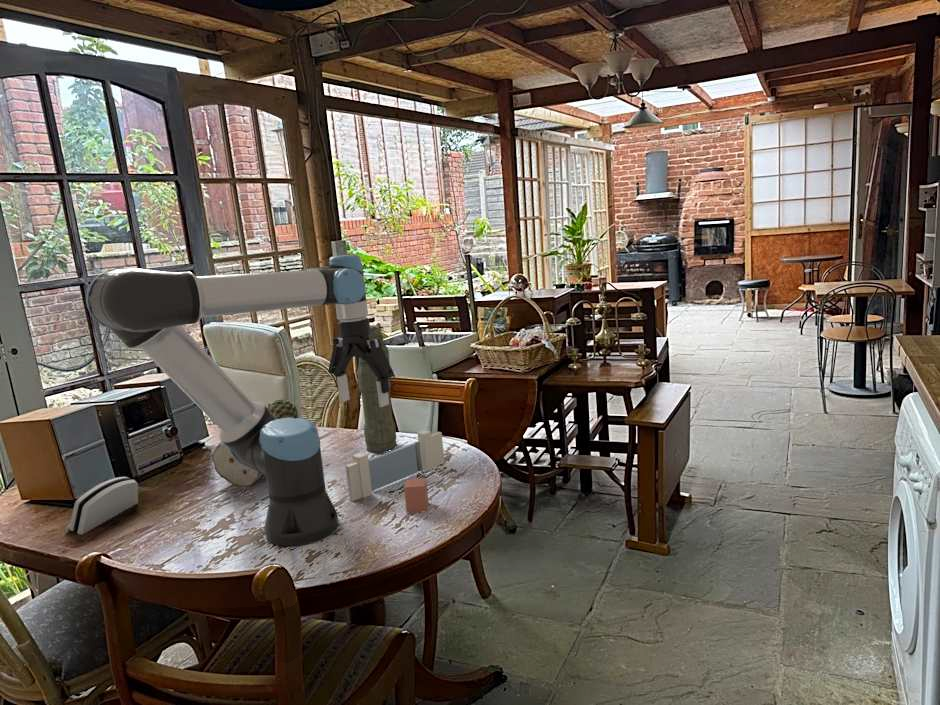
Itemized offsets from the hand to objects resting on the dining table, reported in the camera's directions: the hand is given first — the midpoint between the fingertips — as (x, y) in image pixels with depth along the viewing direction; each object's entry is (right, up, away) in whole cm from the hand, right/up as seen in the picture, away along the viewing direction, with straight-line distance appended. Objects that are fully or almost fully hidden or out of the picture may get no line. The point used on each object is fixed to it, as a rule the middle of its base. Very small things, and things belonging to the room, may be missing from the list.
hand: (364, 403), depth 165 cm
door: (+8, -19, -1) cm, 21 cm away
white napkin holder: (-59, -27, -8) cm, 65 cm away
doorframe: (+9, -19, -1) cm, 21 cm away
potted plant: (-29, -19, +16) cm, 38 cm away
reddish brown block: (+15, -22, -17) cm, 32 cm away
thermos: (+1, -15, +25) cm, 29 cm away
